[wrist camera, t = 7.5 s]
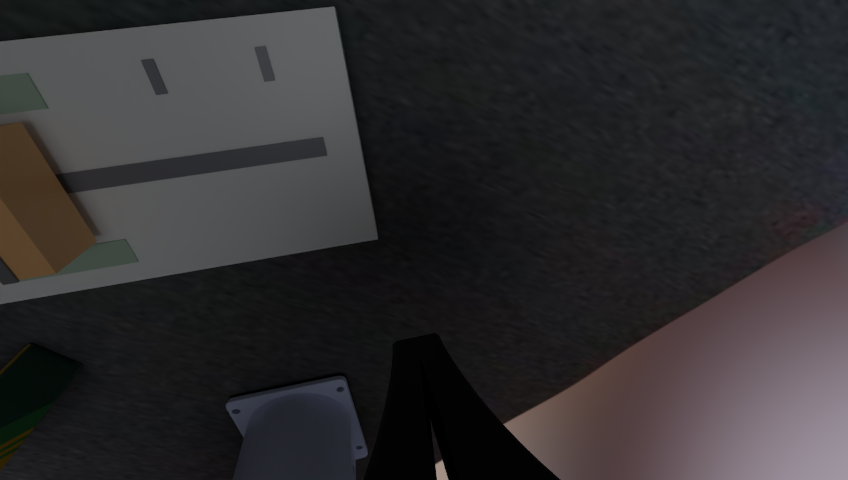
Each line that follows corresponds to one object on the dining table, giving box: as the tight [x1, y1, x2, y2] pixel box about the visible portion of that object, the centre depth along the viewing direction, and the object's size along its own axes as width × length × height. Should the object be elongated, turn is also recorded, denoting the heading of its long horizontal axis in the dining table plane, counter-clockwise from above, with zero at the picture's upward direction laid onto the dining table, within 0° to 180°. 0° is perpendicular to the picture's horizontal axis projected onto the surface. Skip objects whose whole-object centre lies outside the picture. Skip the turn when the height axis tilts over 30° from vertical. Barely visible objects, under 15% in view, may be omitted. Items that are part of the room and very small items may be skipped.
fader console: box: [0, 7, 378, 304], centre depth 16 cm, size 10×22×2 cm, turn 96°
